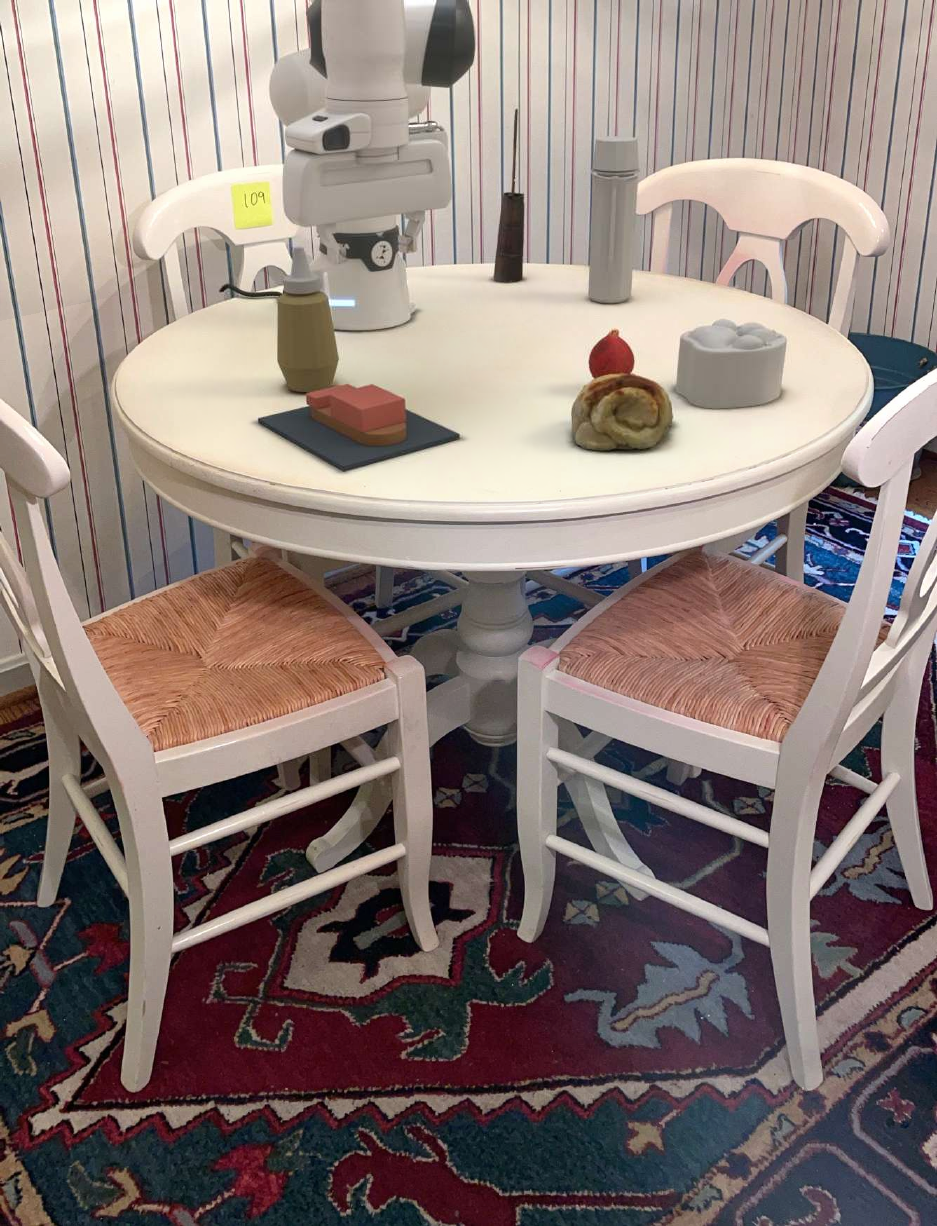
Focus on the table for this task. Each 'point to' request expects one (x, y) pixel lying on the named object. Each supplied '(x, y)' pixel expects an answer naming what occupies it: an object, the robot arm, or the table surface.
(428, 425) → the mat
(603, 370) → the onion
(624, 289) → the water bottle
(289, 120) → the robot arm
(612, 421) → the pastry
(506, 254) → the butter churn
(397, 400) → the slipper
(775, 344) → the lumpy-topped squat cylinder
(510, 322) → the table surface
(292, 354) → the squeeze bottle
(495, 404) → the table surface
